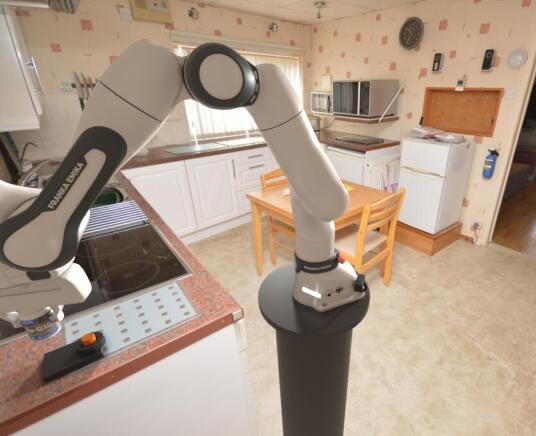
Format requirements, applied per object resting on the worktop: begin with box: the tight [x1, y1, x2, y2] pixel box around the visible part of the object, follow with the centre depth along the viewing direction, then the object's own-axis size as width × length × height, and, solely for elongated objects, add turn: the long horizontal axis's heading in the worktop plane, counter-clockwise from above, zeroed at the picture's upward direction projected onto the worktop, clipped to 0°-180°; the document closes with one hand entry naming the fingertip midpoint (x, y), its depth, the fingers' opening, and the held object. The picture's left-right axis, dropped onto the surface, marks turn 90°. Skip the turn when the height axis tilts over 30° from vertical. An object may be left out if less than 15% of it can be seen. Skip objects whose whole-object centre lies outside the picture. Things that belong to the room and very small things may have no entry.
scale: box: [42, 330, 107, 383], centre depth 65 cm, size 11×8×3 cm
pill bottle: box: [17, 307, 62, 343], centre depth 59 cm, size 5×5×8 cm
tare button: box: [80, 332, 96, 346], centre depth 66 cm, size 2×2×2 cm
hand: (40, 322), depth 59 cm, fingers closed on pill bottle, 5 cm apart
